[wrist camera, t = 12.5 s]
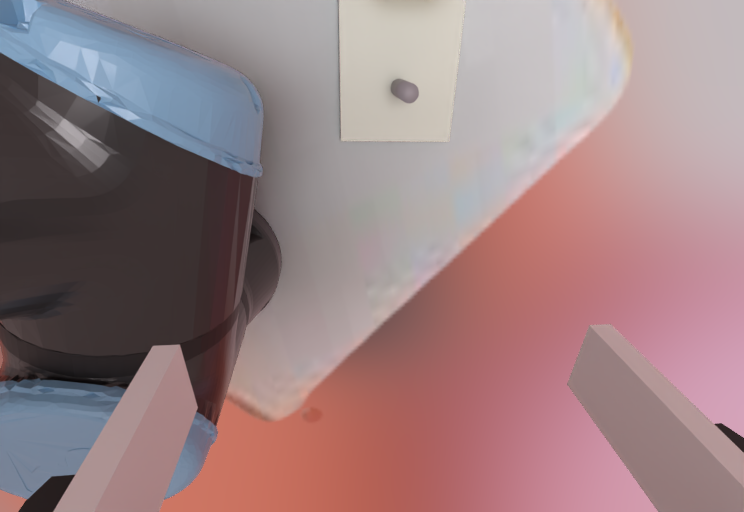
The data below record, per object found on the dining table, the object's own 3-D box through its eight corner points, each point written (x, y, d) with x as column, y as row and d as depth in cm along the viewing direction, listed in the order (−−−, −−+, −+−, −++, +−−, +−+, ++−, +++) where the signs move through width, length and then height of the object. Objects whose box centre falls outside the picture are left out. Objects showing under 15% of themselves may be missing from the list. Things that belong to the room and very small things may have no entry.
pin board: (340, 139, 35) (342, 154, 29) (336, -127, 26) (338, -172, 21) (446, 139, 36) (466, 154, 30) (475, -117, 27) (510, -157, 22)
